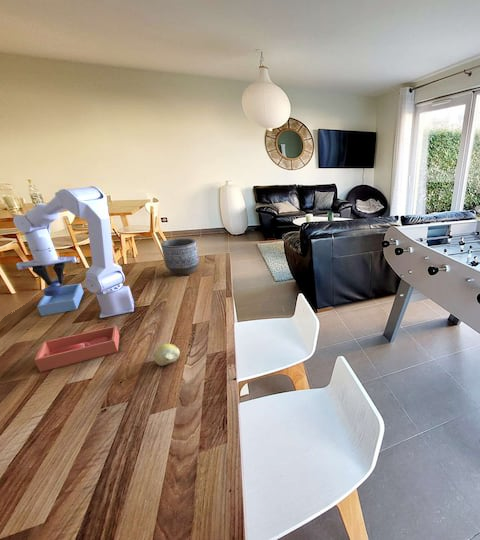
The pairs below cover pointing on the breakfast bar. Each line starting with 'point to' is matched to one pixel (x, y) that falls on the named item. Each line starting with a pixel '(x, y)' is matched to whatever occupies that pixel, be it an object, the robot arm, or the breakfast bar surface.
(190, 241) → the planter
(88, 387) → the breakfast bar surface
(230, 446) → the breakfast bar surface
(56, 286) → the navy spoon
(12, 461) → the breakfast bar surface
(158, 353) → the fruit
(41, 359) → the red bin
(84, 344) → the red spoon
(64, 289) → the blue bin
